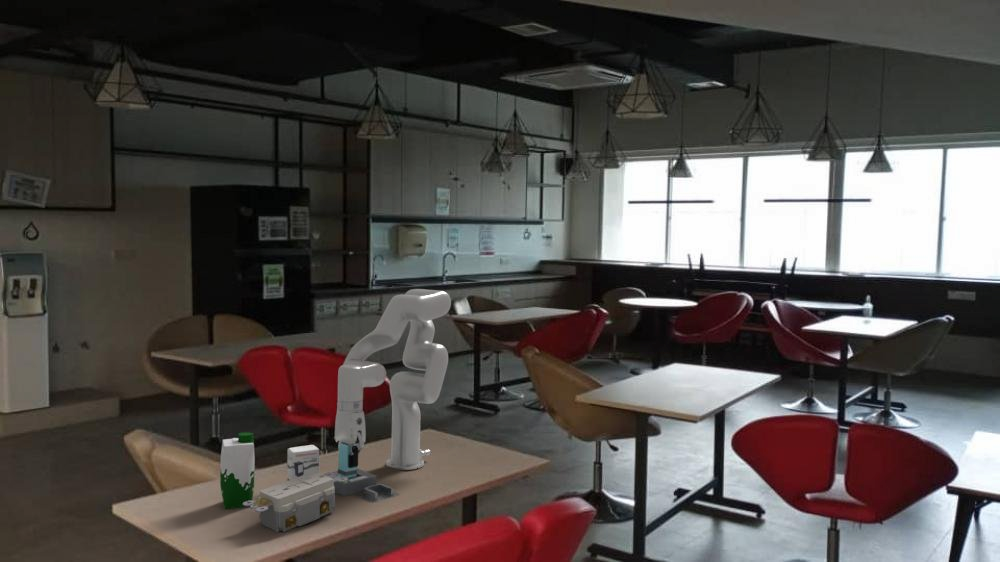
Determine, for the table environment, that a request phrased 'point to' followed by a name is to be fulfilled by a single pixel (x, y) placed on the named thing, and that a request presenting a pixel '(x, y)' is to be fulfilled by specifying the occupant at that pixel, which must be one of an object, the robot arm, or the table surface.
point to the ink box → (302, 461)
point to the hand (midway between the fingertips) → (348, 464)
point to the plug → (345, 462)
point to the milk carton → (237, 470)
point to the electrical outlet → (296, 501)
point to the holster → (377, 493)
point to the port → (355, 483)
